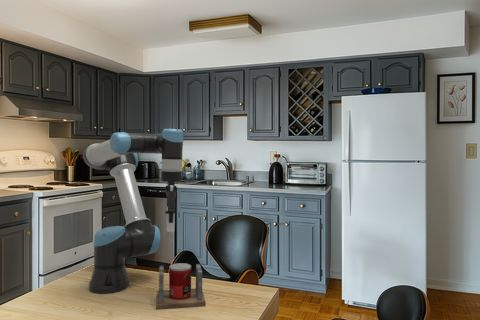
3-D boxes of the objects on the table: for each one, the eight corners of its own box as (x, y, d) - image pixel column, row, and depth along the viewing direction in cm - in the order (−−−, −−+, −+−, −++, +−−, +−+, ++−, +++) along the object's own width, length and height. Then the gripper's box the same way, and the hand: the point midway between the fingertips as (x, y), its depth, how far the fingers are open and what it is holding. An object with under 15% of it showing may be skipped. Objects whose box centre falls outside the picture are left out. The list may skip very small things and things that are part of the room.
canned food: (186, 301, 134) (187, 269, 134) (165, 299, 136) (165, 268, 136) (194, 293, 142) (194, 263, 141) (173, 291, 143) (173, 262, 143)
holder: (156, 294, 144) (156, 264, 144) (201, 292, 147) (202, 262, 147) (155, 309, 130) (155, 276, 130) (205, 306, 133) (205, 273, 133)
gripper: (161, 168, 153) (159, 220, 154) (161, 173, 128) (159, 235, 129) (180, 168, 154) (178, 220, 155) (183, 173, 130) (181, 235, 131)
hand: (170, 227), depth 142 cm, fingers open, 13 cm apart
